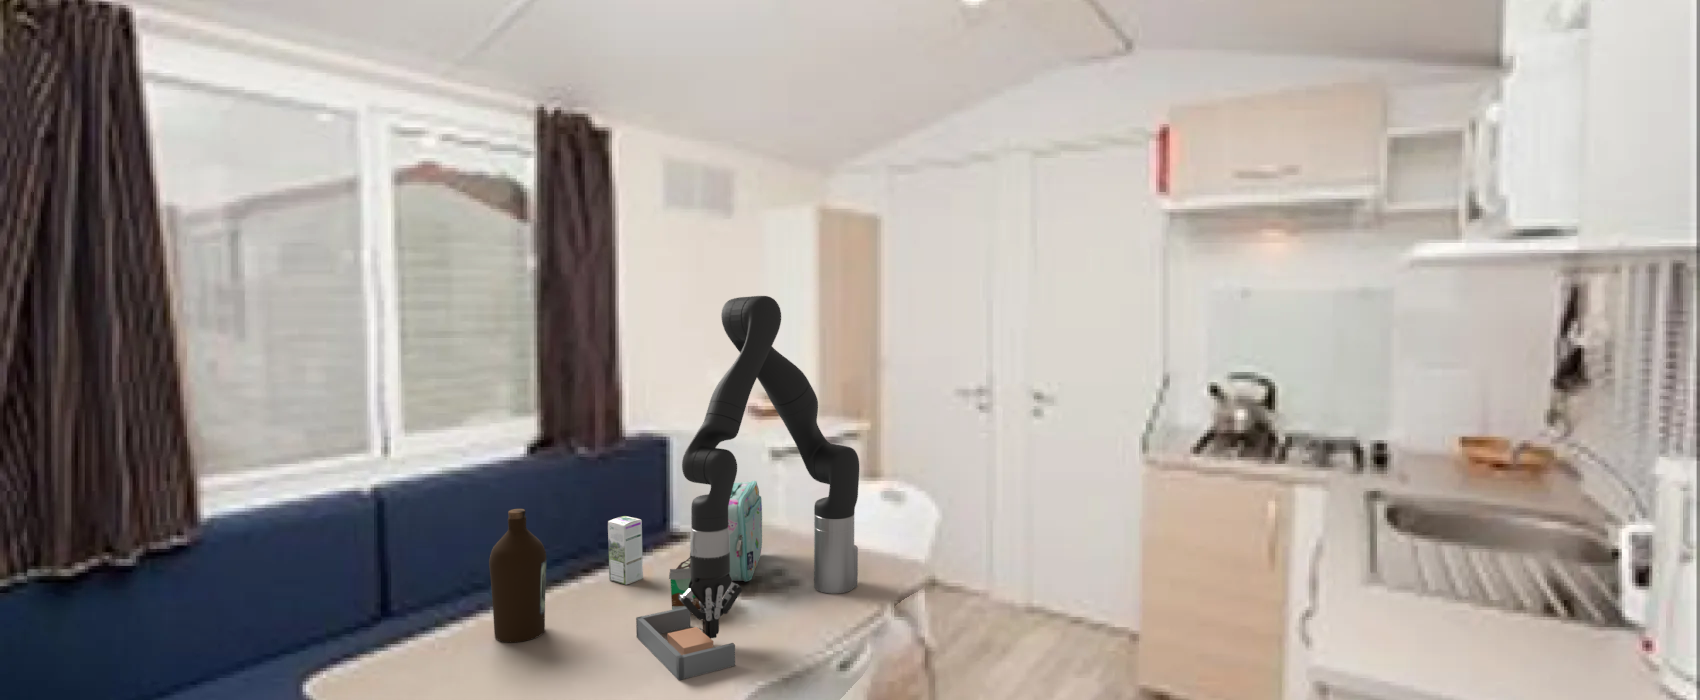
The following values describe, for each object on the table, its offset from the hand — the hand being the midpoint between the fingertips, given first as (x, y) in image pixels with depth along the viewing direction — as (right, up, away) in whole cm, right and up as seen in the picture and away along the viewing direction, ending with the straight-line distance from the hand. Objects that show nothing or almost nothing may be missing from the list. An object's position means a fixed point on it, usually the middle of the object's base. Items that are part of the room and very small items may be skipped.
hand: (710, 636), depth 170 cm
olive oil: (-39, -1, +5) cm, 39 cm away
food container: (-7, 0, +20) cm, 21 cm away
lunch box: (0, +2, +43) cm, 43 cm away
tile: (-3, -2, -3) cm, 5 cm away
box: (-4, -2, -3) cm, 5 cm away
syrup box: (-26, +1, +36) cm, 44 cm away
